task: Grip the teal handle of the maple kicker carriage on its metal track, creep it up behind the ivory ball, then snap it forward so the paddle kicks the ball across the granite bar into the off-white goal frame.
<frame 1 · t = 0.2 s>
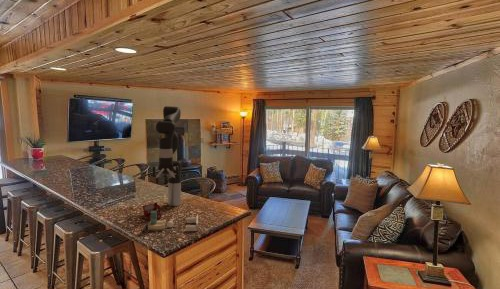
hand: (165, 183, 153), 28 cm above the counter, fingers open, 8 cm apart
track: (163, 227, 159), on the counter
kicker: (157, 219, 158), point 5 cm above the counter, slide at 0.0 cm
ball: (170, 227, 160), on the counter
goal: (192, 226, 163), on the counter
toy fire truck: (152, 219, 172), on the counter
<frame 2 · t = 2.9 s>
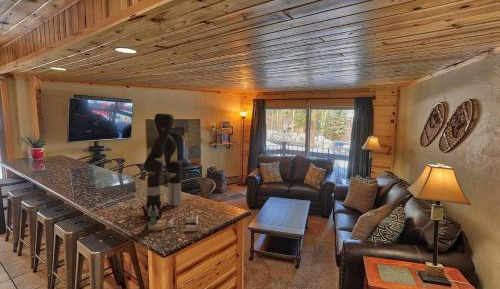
hand: (153, 221, 158), 4 cm above the counter, fingers closed on kicker, 3 cm apart
kicker: (157, 219, 158), point 5 cm above the counter, slide at 0.0 cm, touching gripper
everything else where it was.
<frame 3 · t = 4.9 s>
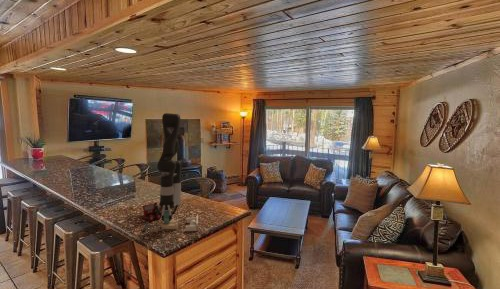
hand: (166, 220, 159), 4 cm above the counter, fingers closed on kicker, 3 cm apart
kicker: (170, 218, 160), point 5 cm above the counter, slide at 7.5 cm, touching gripper
ball: (191, 226, 163), on the counter, tilted 18°
everything else where it was.
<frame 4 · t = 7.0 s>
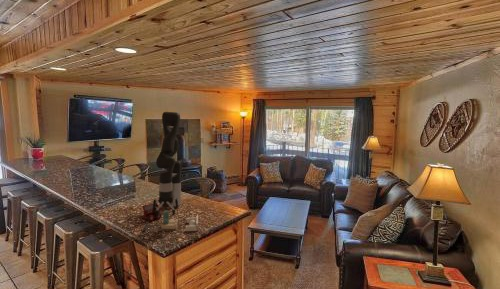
hand: (165, 215, 159), 7 cm above the counter, fingers open, 8 cm apart
kicker: (169, 218, 160), point 5 cm above the counter, slide at 7.1 cm
ball: (191, 226, 163), on the counter, tilted 8°
everything else where it was.
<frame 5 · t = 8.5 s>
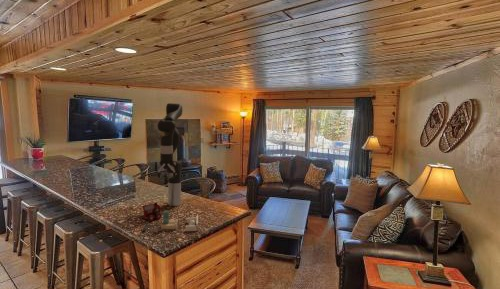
hand: (166, 177, 167), 28 cm above the counter, fingers open, 8 cm apart
ball: (191, 226, 163), on the counter
everything else where it was.
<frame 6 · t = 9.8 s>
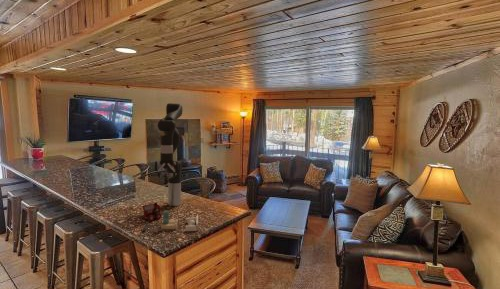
hand: (166, 177, 167), 28 cm above the counter, fingers open, 8 cm apart
ball: (191, 226, 163), on the counter, tilted 6°
everything else where it was.
at the end: ball inside the target area (0.2 cm from its centre), on the counter; kicker slide at 7.1 cm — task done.
